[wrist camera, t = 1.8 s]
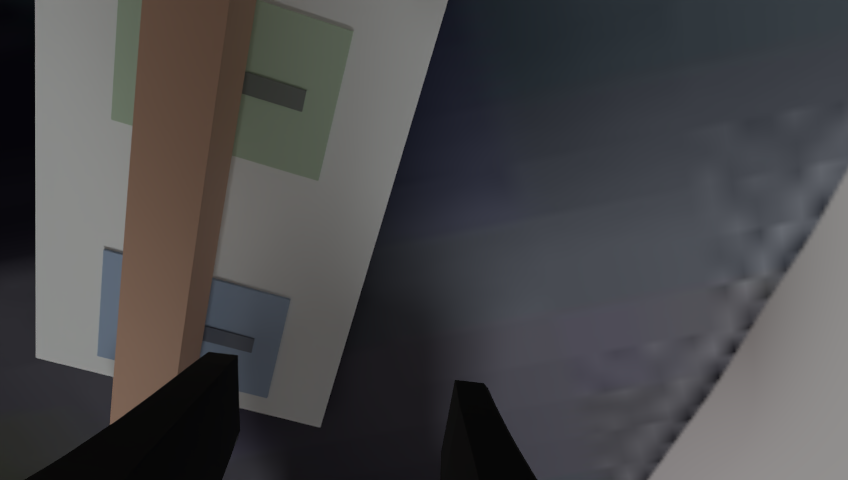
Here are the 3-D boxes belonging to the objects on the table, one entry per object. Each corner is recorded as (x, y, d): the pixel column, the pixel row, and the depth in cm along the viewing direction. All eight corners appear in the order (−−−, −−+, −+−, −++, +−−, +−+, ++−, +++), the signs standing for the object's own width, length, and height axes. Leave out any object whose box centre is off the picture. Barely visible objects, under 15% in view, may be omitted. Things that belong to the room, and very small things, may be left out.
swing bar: (207, 462, 24) (165, 546, 20) (142, 446, 23) (86, 529, 20) (306, -61, 15) (263, -85, 11) (203, -97, 15) (125, -133, 11)
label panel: (455, -28, 16) (456, -30, 15) (301, 489, 25) (296, 507, 24) (54, -168, 15) (29, -180, 14) (48, 431, 24) (33, 447, 23)
